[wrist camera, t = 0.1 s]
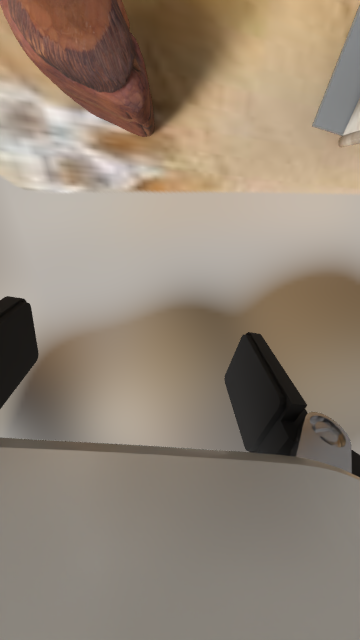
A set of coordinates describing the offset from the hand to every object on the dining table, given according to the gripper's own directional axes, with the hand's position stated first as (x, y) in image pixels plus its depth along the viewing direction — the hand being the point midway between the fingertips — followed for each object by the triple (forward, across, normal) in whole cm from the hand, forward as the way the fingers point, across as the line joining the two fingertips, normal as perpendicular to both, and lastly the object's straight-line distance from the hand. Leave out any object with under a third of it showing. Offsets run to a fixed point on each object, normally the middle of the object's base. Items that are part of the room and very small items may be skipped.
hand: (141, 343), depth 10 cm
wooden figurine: (+31, +8, -15) cm, 36 cm away
